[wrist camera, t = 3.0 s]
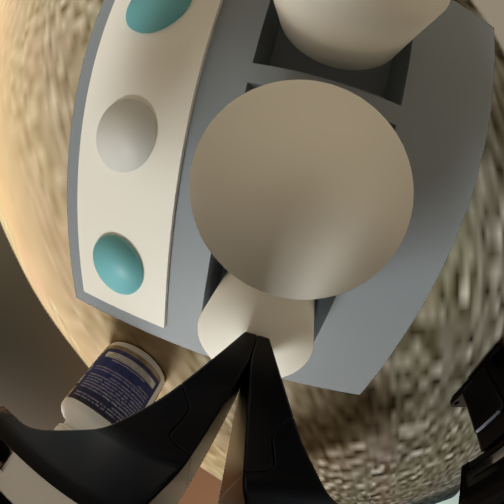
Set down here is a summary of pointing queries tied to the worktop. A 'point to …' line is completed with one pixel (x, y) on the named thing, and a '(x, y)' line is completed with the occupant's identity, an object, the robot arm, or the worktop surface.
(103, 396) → the pill bottle
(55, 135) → the worktop surface
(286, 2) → the button
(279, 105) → the button
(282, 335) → the button
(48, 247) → the worktop surface
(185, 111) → the button board
